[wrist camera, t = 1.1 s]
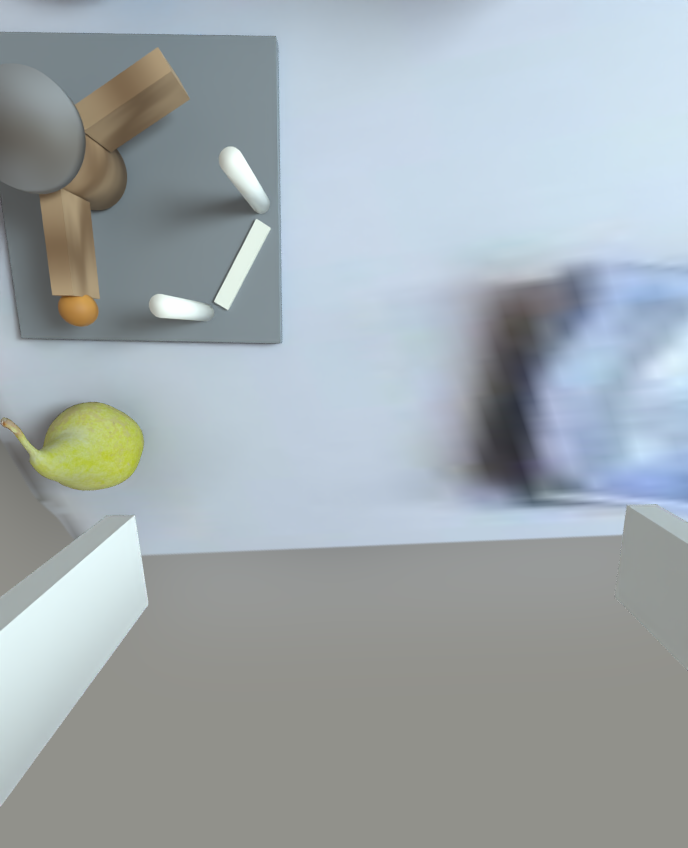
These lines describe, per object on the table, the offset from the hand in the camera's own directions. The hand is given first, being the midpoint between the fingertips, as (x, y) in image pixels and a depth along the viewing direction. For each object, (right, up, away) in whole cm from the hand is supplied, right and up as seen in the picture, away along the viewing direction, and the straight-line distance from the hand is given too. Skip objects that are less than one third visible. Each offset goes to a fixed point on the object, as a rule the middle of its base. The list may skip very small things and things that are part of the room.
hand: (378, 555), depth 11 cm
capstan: (-19, +19, +20) cm, 34 cm away
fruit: (-21, +3, +25) cm, 33 cm away
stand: (-16, +21, +21) cm, 34 cm away
